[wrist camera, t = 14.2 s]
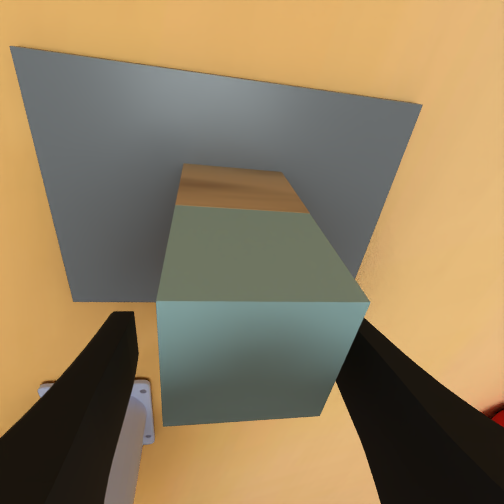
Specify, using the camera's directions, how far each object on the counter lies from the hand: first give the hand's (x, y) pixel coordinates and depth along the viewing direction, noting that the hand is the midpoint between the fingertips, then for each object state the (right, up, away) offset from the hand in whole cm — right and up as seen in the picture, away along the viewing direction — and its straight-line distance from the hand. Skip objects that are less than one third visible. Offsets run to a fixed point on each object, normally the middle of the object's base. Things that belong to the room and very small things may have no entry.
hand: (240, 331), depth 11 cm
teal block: (0, +2, +2) cm, 3 cm away
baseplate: (-1, +5, +6) cm, 8 cm away
